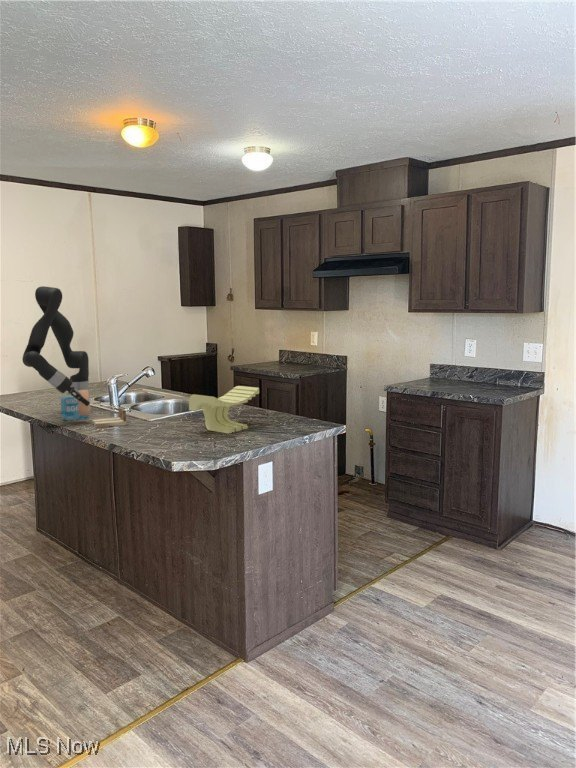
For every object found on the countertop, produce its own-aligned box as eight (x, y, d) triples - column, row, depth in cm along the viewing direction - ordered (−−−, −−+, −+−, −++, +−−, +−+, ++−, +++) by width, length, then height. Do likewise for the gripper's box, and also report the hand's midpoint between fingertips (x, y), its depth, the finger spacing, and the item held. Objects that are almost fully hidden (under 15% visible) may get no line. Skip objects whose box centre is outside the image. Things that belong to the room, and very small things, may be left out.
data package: (65, 421, 295) (63, 397, 293) (62, 420, 298) (60, 396, 296) (88, 417, 303) (87, 394, 301) (84, 416, 306) (83, 393, 304)
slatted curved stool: (234, 421, 289) (233, 385, 286) (259, 424, 279) (259, 387, 276) (190, 432, 265) (188, 393, 262) (215, 437, 255) (214, 396, 253)
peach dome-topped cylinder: (78, 413, 291) (76, 389, 289) (89, 412, 293) (87, 389, 291) (79, 415, 286) (77, 391, 284) (90, 414, 289) (89, 390, 287)
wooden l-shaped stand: (92, 423, 288) (91, 409, 287) (121, 420, 294) (120, 406, 293) (96, 428, 277) (95, 413, 276) (126, 425, 283) (125, 410, 282)
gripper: (67, 377, 277) (95, 400, 284) (63, 373, 290) (90, 395, 297) (55, 389, 276) (84, 412, 283) (53, 385, 288) (80, 406, 295)
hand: (87, 403), depth 290 cm, fingers closed on peach dome-topped cylinder, 5 cm apart
